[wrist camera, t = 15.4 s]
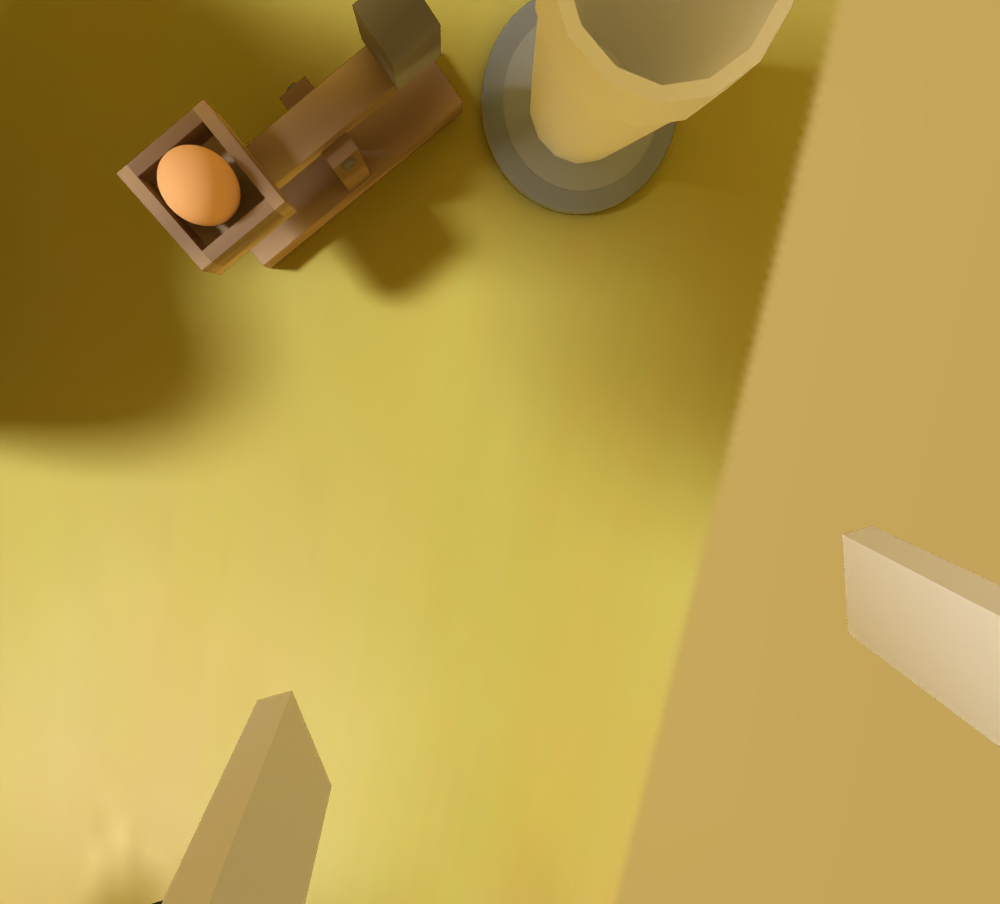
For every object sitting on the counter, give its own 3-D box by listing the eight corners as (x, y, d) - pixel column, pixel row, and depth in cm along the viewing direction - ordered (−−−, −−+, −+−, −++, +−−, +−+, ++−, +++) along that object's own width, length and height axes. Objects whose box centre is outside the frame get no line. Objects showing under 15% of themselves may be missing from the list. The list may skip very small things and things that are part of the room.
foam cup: (606, -23, 29) (730, -287, 17) (684, 129, 32) (844, -1, 19) (472, 79, 30) (493, -101, 17) (558, 222, 32) (633, 155, 20)
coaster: (440, 81, 30) (440, 73, 29) (603, -54, 30) (608, -66, 29) (556, 254, 33) (559, 252, 32) (706, 136, 33) (713, 130, 32)
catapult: (204, 215, 31) (107, 169, 22) (413, 40, 30) (400, -82, 21) (264, 285, 32) (195, 268, 23) (466, 120, 31) (476, 36, 22)
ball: (164, 187, 24) (122, 166, 21) (216, 143, 24) (182, 115, 21) (215, 246, 25) (182, 234, 22) (265, 204, 24) (240, 186, 21)
